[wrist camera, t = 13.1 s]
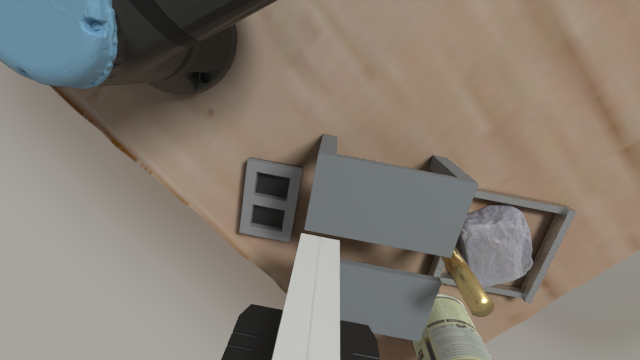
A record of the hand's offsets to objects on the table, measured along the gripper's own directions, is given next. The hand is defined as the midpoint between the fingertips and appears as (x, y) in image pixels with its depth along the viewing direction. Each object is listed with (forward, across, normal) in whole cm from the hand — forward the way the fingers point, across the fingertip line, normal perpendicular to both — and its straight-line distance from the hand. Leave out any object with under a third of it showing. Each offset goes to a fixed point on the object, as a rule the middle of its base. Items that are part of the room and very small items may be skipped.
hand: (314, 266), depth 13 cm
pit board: (+34, -7, -13) cm, 37 cm away
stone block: (+35, +28, -13) cm, 46 cm away
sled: (+34, +27, -13) cm, 45 cm away
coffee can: (+35, +24, -29) cm, 51 cm away
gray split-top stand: (+34, +8, -13) cm, 38 cm away
